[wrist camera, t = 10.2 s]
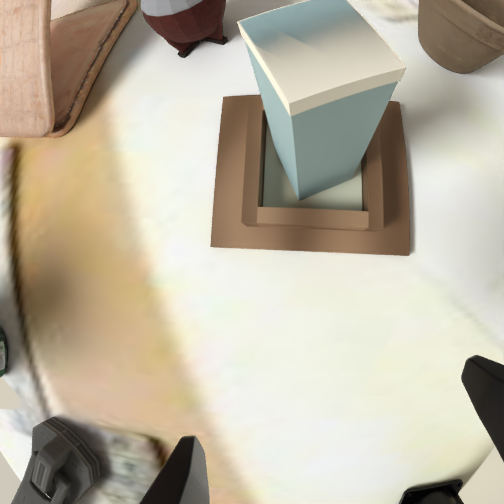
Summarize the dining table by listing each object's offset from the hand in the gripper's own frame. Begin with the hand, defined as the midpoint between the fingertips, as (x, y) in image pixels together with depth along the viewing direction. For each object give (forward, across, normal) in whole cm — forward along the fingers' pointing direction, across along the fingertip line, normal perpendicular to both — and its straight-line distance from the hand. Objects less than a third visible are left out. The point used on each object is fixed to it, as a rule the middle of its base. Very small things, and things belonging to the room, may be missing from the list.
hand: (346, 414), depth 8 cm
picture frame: (+16, -4, -5) cm, 17 cm away
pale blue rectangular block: (+15, -4, -5) cm, 17 cm away
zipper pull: (+10, +32, +24) cm, 41 cm away
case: (+30, +22, -24) cm, 44 cm away
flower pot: (+18, -21, -15) cm, 31 cm away
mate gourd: (+24, +2, -19) cm, 31 cm away
